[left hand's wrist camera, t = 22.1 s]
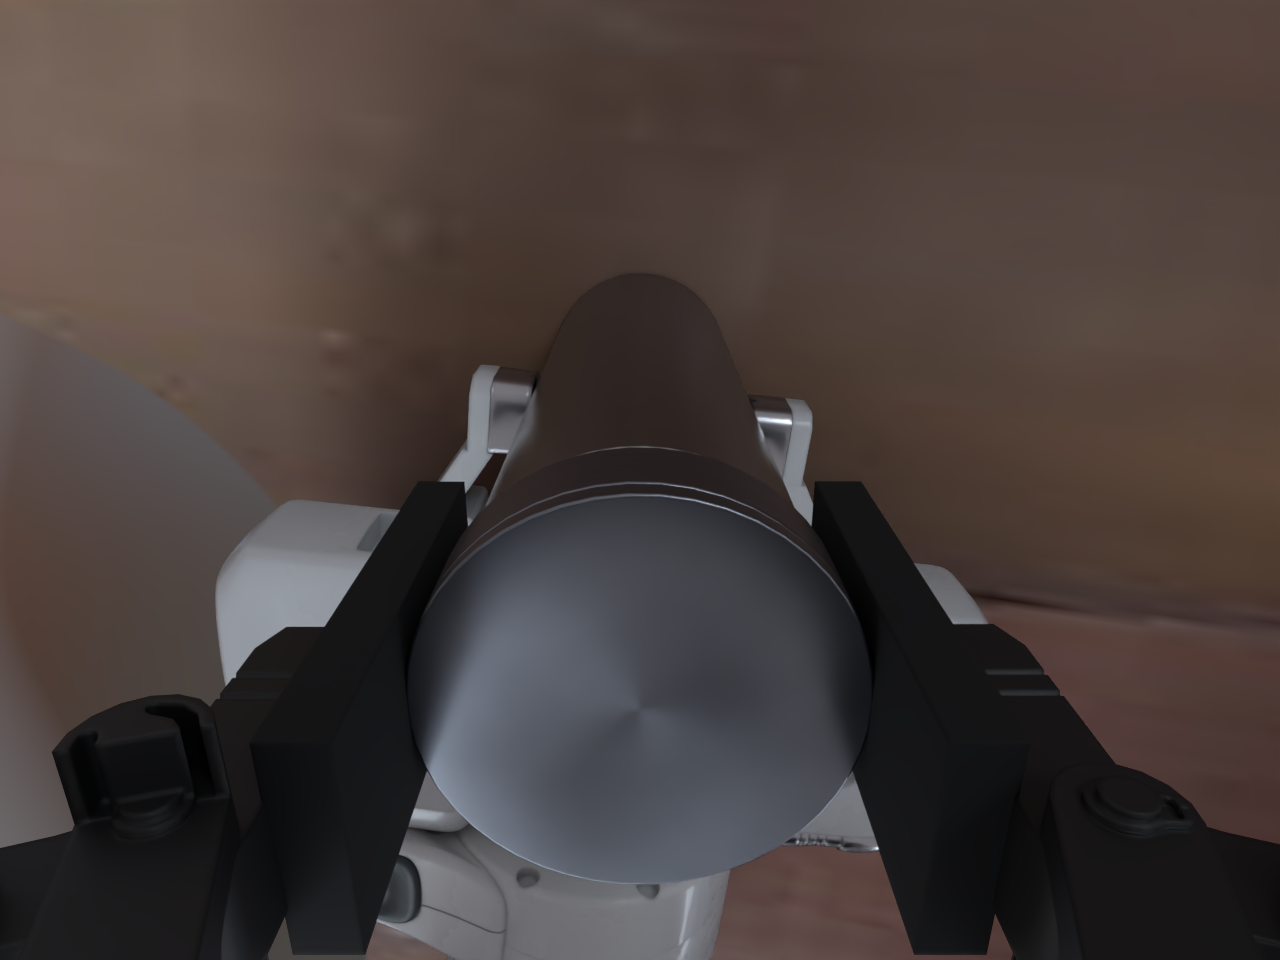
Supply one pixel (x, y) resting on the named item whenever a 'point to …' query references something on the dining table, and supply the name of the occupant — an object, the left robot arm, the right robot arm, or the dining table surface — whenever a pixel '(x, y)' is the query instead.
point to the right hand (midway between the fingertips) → (642, 387)
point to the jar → (639, 385)
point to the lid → (639, 669)
